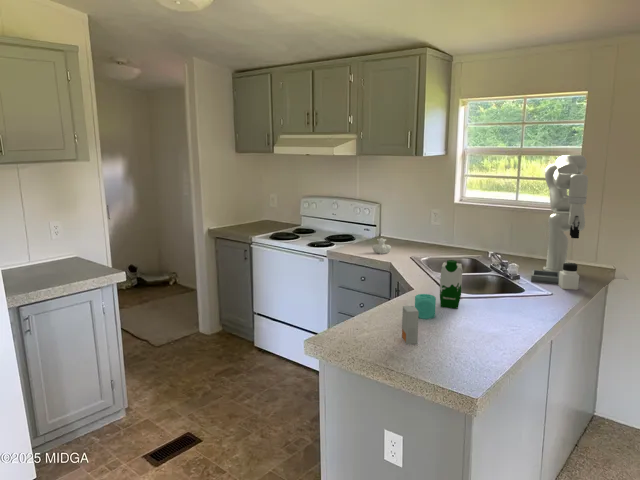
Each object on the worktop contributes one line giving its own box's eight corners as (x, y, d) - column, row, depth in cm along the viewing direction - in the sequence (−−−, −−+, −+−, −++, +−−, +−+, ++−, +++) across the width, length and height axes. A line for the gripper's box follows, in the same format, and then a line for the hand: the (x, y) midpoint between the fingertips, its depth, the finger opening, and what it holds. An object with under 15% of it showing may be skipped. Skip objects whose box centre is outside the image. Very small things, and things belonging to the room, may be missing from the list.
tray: (531, 275, 256) (532, 269, 255) (559, 277, 250) (559, 272, 250) (531, 281, 244) (531, 275, 243) (559, 284, 239) (560, 278, 238)
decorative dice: (434, 313, 198) (435, 294, 196) (435, 319, 190) (435, 300, 189) (414, 311, 199) (415, 293, 198) (414, 318, 192) (415, 299, 190)
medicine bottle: (578, 290, 229) (581, 265, 227) (562, 289, 230) (564, 264, 228) (573, 285, 236) (576, 261, 234) (558, 285, 237) (560, 261, 235)
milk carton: (438, 307, 204) (440, 261, 200) (440, 301, 213) (442, 257, 209) (459, 310, 201) (462, 263, 198) (461, 303, 210) (463, 258, 206)
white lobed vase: (371, 256, 310) (371, 244, 301) (372, 247, 315) (372, 235, 306) (390, 257, 308) (390, 245, 299) (391, 248, 313) (391, 236, 304)
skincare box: (401, 337, 172) (402, 305, 170) (413, 337, 172) (414, 305, 170) (405, 344, 166) (406, 311, 164) (417, 344, 167) (419, 311, 164)
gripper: (567, 199, 237) (564, 234, 239) (569, 201, 221) (566, 238, 224) (584, 200, 234) (581, 235, 236) (588, 202, 218) (584, 239, 221)
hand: (574, 236), depth 230 cm, fingers open, 9 cm apart
